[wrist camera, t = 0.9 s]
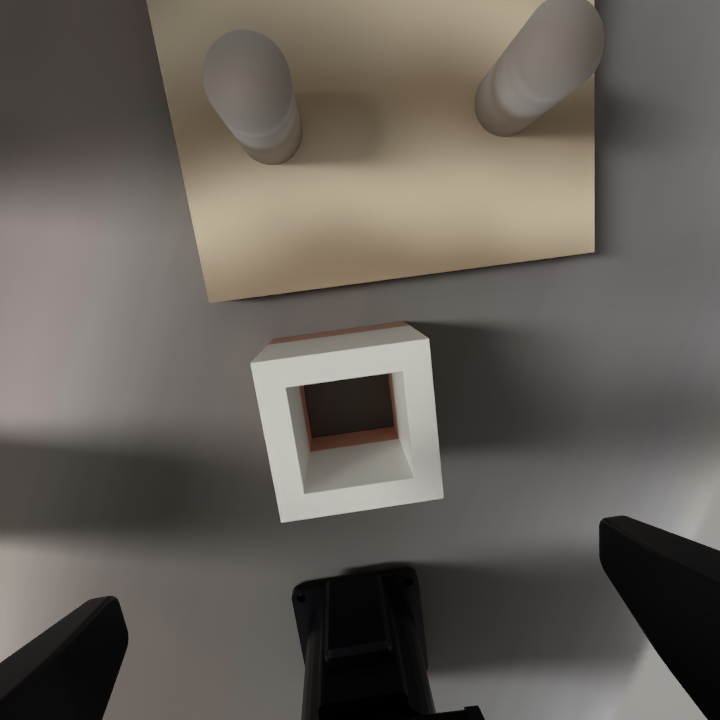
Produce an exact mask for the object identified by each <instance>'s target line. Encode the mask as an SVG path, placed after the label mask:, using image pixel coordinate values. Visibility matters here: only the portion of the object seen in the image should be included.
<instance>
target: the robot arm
mask: <svg viewBox="0 0 720 720" xmlns="http://www.w3.org/2000/svg"><path fill="white" fill-rule="evenodd" d="M599 556H600V562H601V565H602V567H603V569H604V571H605V573H606V574H607V576H608V577H609V579H610V581H611V582H612V584H613V585H614V587H615V588H616V590H617V591H618V593H619V595H620V596H621V598H622V599H623V601H624V602H625V604H626V605H627V607H628V609H629V610H630V612H631V613H632V615H633V616H634V618H635V619H636V621H637V623H638V624H639V626H640V627H641V629H642V630H643V632H644V633H645V635H646V637H647V638H648V640H649V641H650V643H651V644H652V646H653V647H654V649H655V650H656V651H657V653H658V654H659V656H660V657H661V659H662V660H663V661H664V663H665V664H666V665H667V667H668V668H669V669H670V671H671V672H672V673H673V675H674V676H675V677H676V679H677V680H678V681H679V683H680V684H681V685H682V687H683V688H684V689H685V690H686V692H687V693H688V694H689V696H690V697H691V698H692V700H693V701H694V702H695V704H696V705H697V706H698V707H699V709H700V710H701V711H702V713H703V714H704V715H705V717H706V718H707V719H708V720H720V551H719V550H716V549H713V548H711V547H708V546H705V545H703V544H700V543H697V542H695V541H692V540H689V539H686V538H684V537H681V536H678V535H676V534H673V533H670V532H668V531H665V530H662V529H659V528H657V527H654V526H651V525H649V524H646V523H643V522H641V521H638V520H635V519H632V518H630V517H627V516H614V517H608V518H604V519H602V520H601V521H600V524H599ZM407 577H411V578H410V579H409V580H405V578H407ZM300 594H304V595H306V596H299V595H300ZM292 602H293V607H294V613H295V618H296V623H297V628H298V633H299V638H300V643H301V648H302V654H303V659H304V664H305V677H304V690H303V704H302V717H301V720H485V719H484V717H483V715H482V713H481V711H480V709H479V707H478V706H469V707H464V710H460V711H451V712H442V713H436V711H435V707H434V702H433V698H432V694H431V689H430V685H429V681H428V676H427V672H426V670H427V668H428V663H427V654H426V645H425V636H424V628H423V619H422V610H421V601H420V592H419V583H418V578H417V574H416V571H415V570H414V569H412V568H400V569H394V570H387V571H381V572H374V573H368V574H362V575H355V576H349V577H343V578H336V579H330V580H323V581H317V582H311V583H304V584H300V585H297V586H296V587H295V588H294V589H293V594H292ZM127 645H128V630H127V627H126V623H125V620H124V617H123V613H122V610H121V607H120V603H119V601H118V599H117V598H116V597H114V596H106V597H100V598H94V599H91V600H88V601H87V602H85V603H84V604H82V605H81V606H80V607H78V608H77V609H75V610H74V611H73V612H71V613H70V614H68V615H67V616H66V617H64V618H63V619H61V620H60V621H58V622H57V623H56V624H54V625H53V626H51V627H50V628H49V629H47V630H46V631H44V632H43V633H42V634H40V635H39V636H37V637H36V638H35V639H33V640H32V641H30V642H29V643H28V644H26V645H25V646H23V647H22V648H20V649H19V650H18V651H16V652H15V653H13V654H12V655H11V656H9V657H8V658H6V659H5V660H4V661H2V662H1V663H0V720H102V719H103V716H104V713H105V710H106V707H107V704H108V701H109V699H110V696H111V693H112V690H113V687H114V684H115V681H116V678H117V676H118V673H119V670H120V667H121V664H122V661H123V658H124V655H125V652H126V649H127Z"/></svg>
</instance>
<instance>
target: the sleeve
mask: <svg viewBox="0 0 720 720" xmlns="http://www.w3.org/2000/svg"><path fill="white" fill-rule="evenodd" d="M250 364H251V369H252V374H253V379H254V385H255V390H256V395H257V400H258V405H259V411H260V416H261V421H262V426H263V431H264V437H265V442H266V447H267V452H268V457H269V463H270V468H271V473H272V478H273V483H274V489H275V494H276V499H277V504H278V509H279V515H280V520H281V523H284V522H291V521H297V520H304V519H311V518H317V517H324V516H330V515H337V514H344V513H350V512H357V511H363V510H370V509H377V508H383V507H390V506H396V505H403V504H410V503H416V502H423V501H429V500H436V499H443V498H444V496H443V485H442V474H441V463H440V452H439V441H438V430H437V419H436V408H435V397H434V386H433V375H432V364H431V354H430V343H429V338H428V337H426V336H425V335H423V334H422V333H420V332H419V331H417V330H416V329H415V328H413V327H412V326H410V325H409V324H407V323H406V322H404V321H402V322H395V323H387V324H380V325H373V326H365V327H358V328H351V329H343V330H336V331H329V332H321V333H314V334H307V335H299V336H292V337H284V338H277V339H273V340H272V341H271V342H270V343H269V344H268V345H267V346H266V347H265V348H264V349H263V350H262V351H261V352H260V353H259V354H258V355H257V357H256V358H255V359H254V360H253V361H252V362H251V363H250ZM387 373H388V378H389V386H390V395H391V403H392V412H393V421H394V426H393V427H386V428H379V429H373V430H366V431H359V432H352V433H345V434H338V435H331V436H324V437H317V438H312V436H311V430H310V424H309V418H308V412H307V406H306V400H305V393H304V387H303V385H308V384H316V383H323V382H330V381H337V380H344V379H351V378H358V377H366V376H373V375H380V374H387Z"/></svg>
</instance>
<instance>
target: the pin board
mask: <svg viewBox="0 0 720 720" xmlns="http://www.w3.org/2000/svg"><path fill="white" fill-rule="evenodd" d="M146 2H147V7H148V12H149V16H150V21H151V26H152V31H153V36H154V40H155V45H156V50H157V55H158V60H159V64H160V69H161V74H162V79H163V84H164V88H165V93H166V98H167V103H168V108H169V112H170V117H171V122H172V127H173V132H174V136H175V141H176V146H177V151H178V156H179V160H180V165H181V170H182V175H183V179H184V184H185V189H186V194H187V199H188V203H189V208H190V213H191V218H192V223H193V227H194V232H195V237H196V242H197V247H198V251H199V256H200V261H201V266H202V271H203V275H204V280H205V285H206V290H207V295H208V299H209V303H214V302H221V301H229V300H237V299H244V298H252V297H259V296H267V295H274V294H282V293H289V292H297V291H305V290H312V289H320V288H327V287H335V286H342V285H350V284H358V283H365V282H373V281H380V280H388V279H395V278H403V277H411V276H418V275H426V274H433V273H441V272H448V271H456V270H463V269H471V268H479V267H486V266H494V265H501V264H509V263H516V262H524V261H532V260H539V259H547V258H554V257H562V256H569V255H577V254H585V253H592V252H595V86H594V72H595V70H596V69H597V67H598V65H599V63H600V61H601V59H602V55H603V52H604V47H605V31H604V25H603V22H602V19H601V17H600V15H599V13H598V11H597V10H596V9H595V7H594V0H146Z"/></svg>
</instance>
